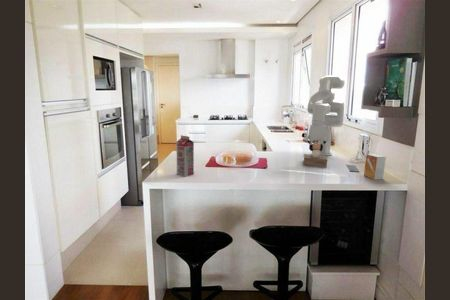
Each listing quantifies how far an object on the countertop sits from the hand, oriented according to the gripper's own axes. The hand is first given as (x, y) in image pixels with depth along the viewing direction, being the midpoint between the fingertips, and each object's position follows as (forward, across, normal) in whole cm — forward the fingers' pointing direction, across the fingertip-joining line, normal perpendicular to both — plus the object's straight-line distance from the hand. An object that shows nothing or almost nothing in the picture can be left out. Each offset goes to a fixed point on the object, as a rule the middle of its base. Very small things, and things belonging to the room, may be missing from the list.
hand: (315, 150), depth 187 cm
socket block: (+10, 0, 0) cm, 10 cm away
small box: (+10, -28, +23) cm, 38 cm away
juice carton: (+10, +79, +34) cm, 87 cm away
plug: (+7, 0, 0) cm, 7 cm away
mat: (+10, -20, +4) cm, 22 cm away
